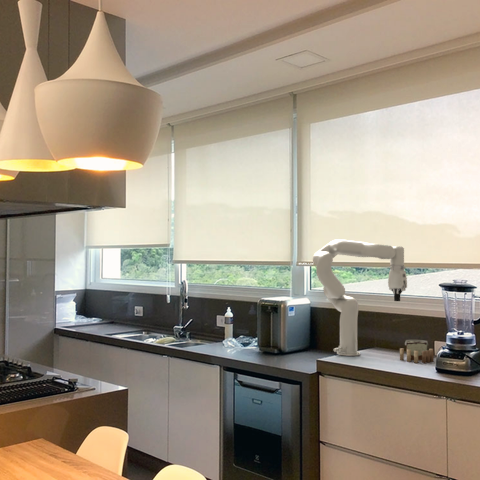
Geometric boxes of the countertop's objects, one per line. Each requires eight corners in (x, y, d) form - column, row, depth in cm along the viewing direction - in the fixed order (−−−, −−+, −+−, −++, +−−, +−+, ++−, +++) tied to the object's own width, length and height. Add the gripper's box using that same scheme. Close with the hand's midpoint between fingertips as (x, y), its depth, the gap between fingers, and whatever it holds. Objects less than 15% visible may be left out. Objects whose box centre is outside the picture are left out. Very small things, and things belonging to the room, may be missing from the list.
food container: (423, 358, 294) (423, 339, 294) (428, 360, 288) (428, 341, 288) (401, 358, 293) (401, 339, 293) (405, 360, 287) (405, 341, 287)
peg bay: (420, 364, 277) (420, 352, 277) (399, 360, 288) (399, 348, 288) (438, 361, 285) (438, 349, 285) (416, 357, 296) (416, 346, 296)
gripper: (412, 268, 307) (412, 301, 306) (391, 268, 319) (391, 299, 318) (403, 268, 302) (403, 302, 302) (382, 268, 315) (382, 300, 314)
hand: (397, 301), depth 310 cm, fingers closed
